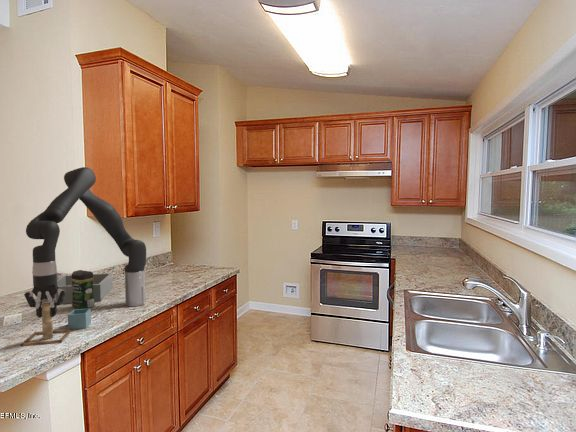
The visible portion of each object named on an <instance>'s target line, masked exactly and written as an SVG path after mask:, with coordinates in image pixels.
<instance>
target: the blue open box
mask: <svg viewBox="0 0 576 432" xmlns="http://www.w3.org/2000/svg"><path fill="white" fill-rule="evenodd" d="M91 309H92V307H91V308H89V309H72V311H71V312H69V313H68V314H67V329H72V331H73V330H84V329H87V328H89V326H90V324H91V323H92V310H91Z"/></svg>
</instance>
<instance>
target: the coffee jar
mask: <svg viewBox="0 0 576 432" xmlns="http://www.w3.org/2000/svg"><path fill="white" fill-rule="evenodd" d="M93 274H94V272H93V271H89V270H82V269H79V270H74V271H73V272H72V273H71V275H72V276H71V280H72V286H73V297H72V303H71V306H72V308H73V309H74V310H76V309H90V308H91V309H92V308H93V307H94V306H95V302H94V295H93V278H94V277H93Z"/></svg>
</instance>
